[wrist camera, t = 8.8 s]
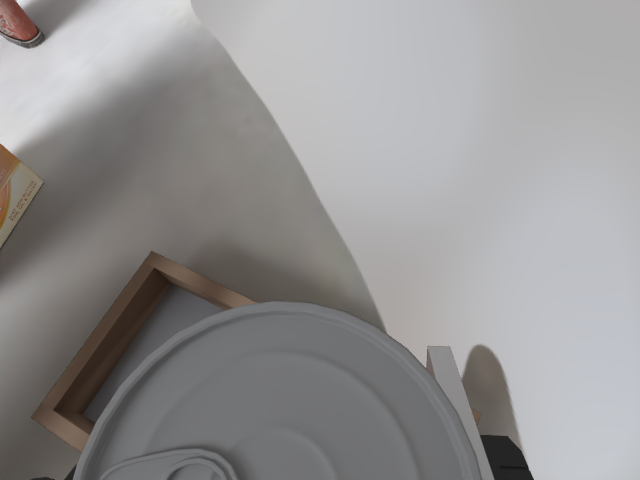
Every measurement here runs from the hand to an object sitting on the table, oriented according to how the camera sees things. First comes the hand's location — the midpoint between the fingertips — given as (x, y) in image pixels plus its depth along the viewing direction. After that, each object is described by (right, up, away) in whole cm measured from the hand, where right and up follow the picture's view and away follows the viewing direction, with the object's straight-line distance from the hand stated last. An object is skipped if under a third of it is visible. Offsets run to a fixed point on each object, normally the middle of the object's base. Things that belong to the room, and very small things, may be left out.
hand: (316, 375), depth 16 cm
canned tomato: (0, -5, +2) cm, 5 cm away
